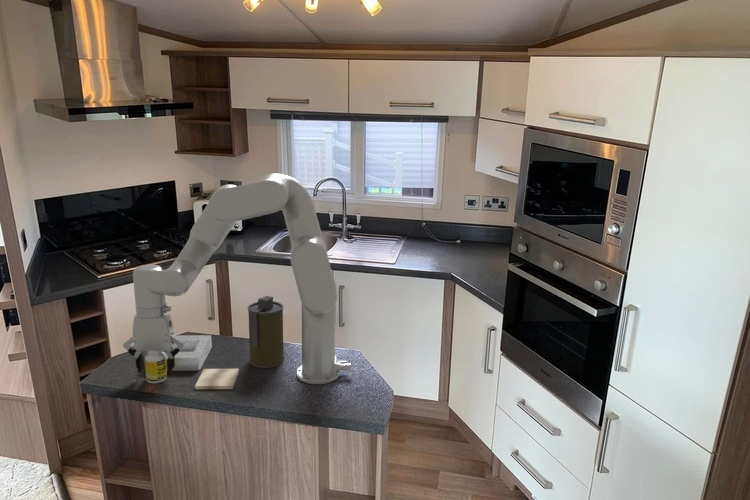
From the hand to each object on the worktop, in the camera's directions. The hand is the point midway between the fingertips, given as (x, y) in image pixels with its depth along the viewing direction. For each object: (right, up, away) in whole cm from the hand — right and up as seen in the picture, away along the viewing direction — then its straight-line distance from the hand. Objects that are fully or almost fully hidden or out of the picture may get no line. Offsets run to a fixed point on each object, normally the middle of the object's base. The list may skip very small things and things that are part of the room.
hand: (156, 369), depth 150 cm
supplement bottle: (0, -3, +1) cm, 3 cm away
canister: (+28, -1, +14) cm, 31 cm away
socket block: (+2, 0, +13) cm, 14 cm away
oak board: (+17, -3, +1) cm, 17 cm away
